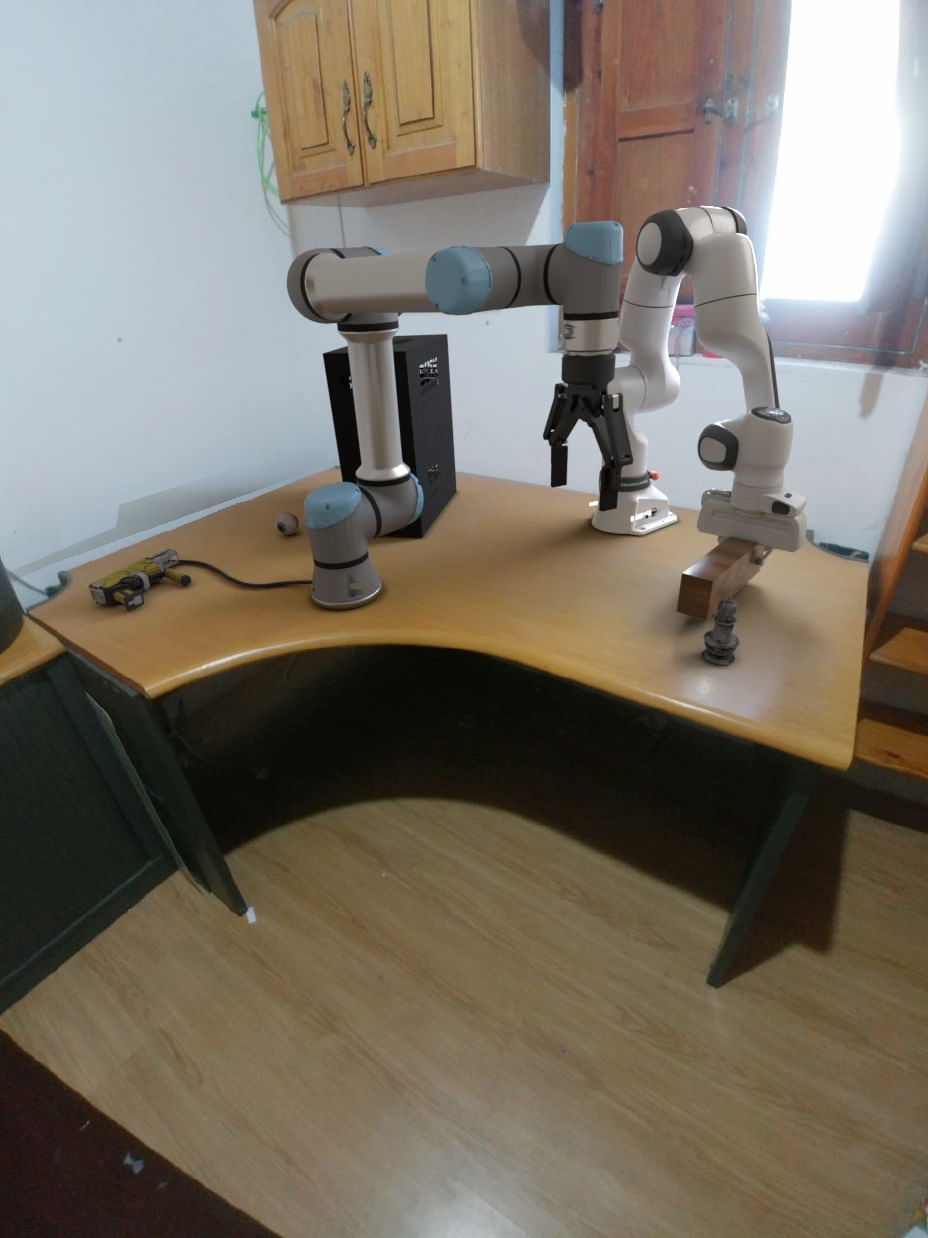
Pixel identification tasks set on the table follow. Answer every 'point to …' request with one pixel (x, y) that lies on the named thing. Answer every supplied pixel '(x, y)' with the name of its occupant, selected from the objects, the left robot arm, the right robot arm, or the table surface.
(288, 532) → the eyeball
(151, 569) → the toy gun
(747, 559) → the bar
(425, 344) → the black computer tower
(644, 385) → the right robot arm
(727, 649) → the dark grey tiered figure
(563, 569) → the table surface
